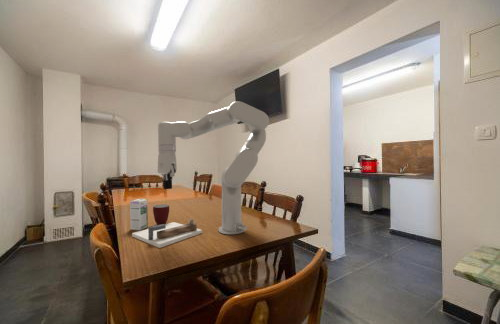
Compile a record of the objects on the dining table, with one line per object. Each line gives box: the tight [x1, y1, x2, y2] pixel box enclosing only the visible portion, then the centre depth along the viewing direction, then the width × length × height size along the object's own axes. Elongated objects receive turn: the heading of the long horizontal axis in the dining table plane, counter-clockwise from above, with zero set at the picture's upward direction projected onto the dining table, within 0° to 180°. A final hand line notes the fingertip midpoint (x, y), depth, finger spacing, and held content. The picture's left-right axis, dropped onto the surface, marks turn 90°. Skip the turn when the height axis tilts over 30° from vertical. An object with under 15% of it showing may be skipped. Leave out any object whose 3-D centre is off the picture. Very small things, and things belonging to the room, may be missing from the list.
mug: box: [152, 203, 170, 225], centre depth 119 cm, size 11×8×10 cm
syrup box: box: [129, 198, 149, 231], centre depth 112 cm, size 6×6×14 cm
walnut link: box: [157, 218, 198, 239], centre depth 100 cm, size 18×5×5 cm, turn 137°
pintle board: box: [131, 221, 203, 249], centre depth 102 cm, size 22×22×2 cm
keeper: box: [147, 224, 166, 240], centre depth 94 cm, size 7×2×5 cm, turn 132°
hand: (167, 188), depth 102 cm, fingers closed
